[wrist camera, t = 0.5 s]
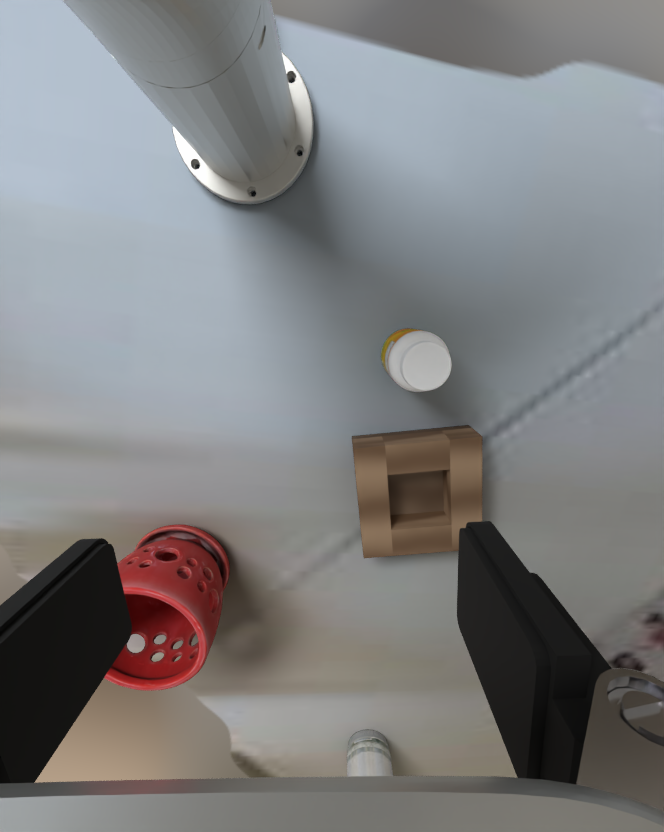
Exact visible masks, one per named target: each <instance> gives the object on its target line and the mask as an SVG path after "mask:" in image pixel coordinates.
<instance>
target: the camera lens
mask: <svg viewBox="0 0 664 832" xmlns="http://www.w3.org/2000/svg"><path fill="white" fill-rule="evenodd" d="M353 776H393V771H392V763H391V755H390V751H389V747H388V745H387V741H386V739H385V737H384V736H383V735H382V734H381V733H379V732H377V731H374V730H362V731H359V732H357V733H355V734H354V735H352V737H351V738H350V740H349V746H348V750H347V777H353Z"/></svg>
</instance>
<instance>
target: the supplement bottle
mask: <svg viewBox="0 0 664 832" xmlns="http://www.w3.org/2000/svg"><path fill="white" fill-rule="evenodd" d="M381 361H382V364H383V367H384V369H385V370H386V372H387V373H388V374H389V375H390V376H391V378H392V379H393V380H394V381H395V382H396V383H397V384H398V385H399V386H400V387H402V388H404V389H406V390H408V391H412V392H424V391H430V390H434V389H436V388H438V387H440V386H441V385H442V384H443V383H444V382H445V381H446V380H447V379H448V377H449V375H450V372H451V367H452V362H451V358H450V354H449V350H448V348H447V346H446V344H445V343H444V342H443V340H442V339H441V338H439V337H438V336H437V335H435V334H433V333H430V332H427V331H422V330H416V329H409V328H407V329H401V330H398V331H396V332H394V333H393V334H391V335H390V336H389V337H388V338H387V339H386V341H385V343H384V344H383V347H382V351H381Z"/></svg>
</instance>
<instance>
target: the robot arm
mask: <svg viewBox="0 0 664 832" xmlns="http://www.w3.org/2000/svg"><path fill="white" fill-rule="evenodd" d="M62 1H63V2H64V3H65V4H66V5H67V6H68V7H69V8H70V9H71V10H72V12H73V13H74V14H75V15H76V16H77V17H78V18H79V19H80V20H81V21H82V23H83V24H84V25H85V26H86V27H87V28H88V29H89V30H90V31H91V32H92V34H93V35H94V36H95V37H96V38H97V39H98V41H99V42H100V43H101V44H102V45H103V46H104V47H105V49H106V50H107V51H108V52H109V53H110V54H111V56H112V57H113V58H114V59H115V60H116V62H117V63H118V64H119V65H120V66H121V67H122V68H123V70H124V71H125V72H126V73H127V74H128V75H129V76H130V78H131V79H132V80H133V81H134V82H135V83H136V84H137V86H138V87H139V88H140V89H141V90H142V91H143V93H144V94H145V95H146V96H147V97H148V98H149V99H150V101H151V102H152V103H153V104H154V105H155V106H156V107H157V109H158V110H159V111H160V112H161V113H162V114H163V115H164V117H165V118H166V119H167V120H168V121H169V122H170V123H171V125H172V129H173V134H174V138H175V142H176V145H177V148H178V150H179V153H180V155H181V157H182V159H183V161H184V163H185V164H186V166H187V167H188V169H189V170H190V172H191V173H192V175H193V176H194V177H195V178H196V179H197V180H198V181H199V182H200V183H201V184H202V185H203V186H204V187H205V188H207V189H208V190H209V191H210V192H212V193H214V194H215V195H217V196H218V197H220V198H222V199H225V200H228V201H230V202H233V203H239V204H259V203H262V202H266V201H269V200H272V199H274V198H275V197H277V196H279V195H281V194H282V193H284V192H285V191H286V190H287V189H288V188H289V187H291V186H292V185H293V183H294V182H295V181H296V180H297V178H298V177H299V176H300V174H301V173H302V171H303V169H304V167H305V165H306V163H307V161H308V157H309V154H310V151H311V148H312V141H313V134H314V128H313V112H312V105H311V101H310V97H309V94H308V90H307V87H306V85H305V83H304V81H303V79H302V76H301V74H300V73H299V71H298V70H297V69H296V67H295V66H294V64H293V63H292V61H291V60H290V59H289V58H288V57H287V56H286V55H285V54H284V53H283V52H282V51H281V46H280V42H279V37H278V32H277V28H276V23H275V18H274V14H273V9H272V4H271V0H62ZM290 81H294V83H290ZM299 152H302V153H303V155H302V156H298V153H299ZM198 165H200V168H199V169H197V166H198ZM252 192H256V195H255V196H254V197H252ZM457 618H458V624H459V628H460V631H461V633H462V636H463V638H464V641H465V644H466V646H467V649H468V651H469V654H470V656H471V659H472V662H473V664H474V667H475V669H476V672H477V674H478V677H479V680H480V682H481V685H482V687H483V690H484V692H485V695H486V697H487V700H488V703H489V705H490V708H491V710H492V713H493V715H494V718H495V721H496V723H497V726H498V728H499V731H500V733H501V736H502V739H503V741H504V744H505V746H506V749H507V751H508V754H509V756H510V759H511V762H512V764H513V767H514V769H515V772H516V774H517V777H518V778H510V777H488V776H353V777H278V778H225V779H224V778H222V779H172V780H124V781H81V782H46V783H45V782H43V783H34V782H35V781H36V779H37V778H38V776H39V775H40V773H41V772H42V770H43V769H44V767H45V766H46V764H47V763H48V761H49V760H50V758H51V757H52V755H53V754H54V752H55V751H56V749H57V748H58V746H59V744H60V743H61V742H62V740H63V739H64V737H65V736H66V734H67V733H68V731H69V729H70V728H71V726H72V725H73V723H74V722H75V720H76V719H77V717H78V716H79V714H80V713H81V711H82V710H83V708H84V707H85V705H86V704H87V702H88V701H89V699H90V698H91V696H92V695H93V693H94V692H95V690H96V689H97V687H98V686H99V684H100V683H101V681H102V680H103V678H104V677H105V675H106V674H107V672H108V671H109V669H110V668H111V666H112V665H113V663H114V662H115V660H116V659H117V657H118V656H119V654H120V653H121V651H122V650H123V648H124V647H125V645H126V644H127V642H128V640H129V638H130V636H131V632H132V623H131V619H130V615H129V611H128V607H127V603H126V598H125V594H124V590H123V586H122V582H121V577H120V573H119V569H118V565H117V561H116V557H115V552H114V549H113V546H112V545H111V544H108V542H107V541H106V540H105V539H102V538H101V539H82V540H79V541H77V542H76V543H75V544H73V545H72V546H71V547H70V548H69V549H67V550H66V551H65V552H64V553H63V554H61V555H60V556H59V557H58V558H57V559H55V560H54V561H53V562H52V563H51V564H49V565H48V566H47V567H46V568H45V569H43V570H42V571H41V572H40V573H39V574H37V575H36V576H35V577H34V578H33V579H31V580H30V581H29V582H28V583H27V584H26V585H24V586H23V587H22V588H21V589H19V590H18V591H17V592H16V593H15V594H14V595H12V596H11V597H10V598H9V599H8V600H6V601H5V602H4V603H3V604H2V605H0V832H664V682H663V681H661V680H659V679H657V678H655V677H654V676H651V675H648V674H645V673H642V672H640V671H637V670H631V669H624V668H617V669H612V668H611V667H610V666H609V664H608V663H607V662H606V661H605V659H604V658H603V657H602V655H601V654H600V653H599V652H598V650H597V649H596V648H595V647H594V645H593V644H592V643H591V641H590V640H589V639H588V638H587V636H586V635H585V634H584V633H583V631H582V630H581V629H580V627H579V626H578V625H577V624H576V622H575V621H574V620H573V618H572V617H571V616H570V615H569V613H568V612H567V611H566V610H565V608H564V607H563V606H562V604H561V603H560V602H559V601H558V599H557V598H556V597H555V595H554V594H553V593H552V592H551V590H550V589H549V588H548V587H547V585H546V584H545V583H544V581H543V580H542V579H541V578H540V577H539V576H538V575H537V574H535V573H530V572H529V571H528V570H527V569H526V567H525V566H524V565H523V563H522V562H521V561H520V559H519V558H518V557H517V555H516V554H515V553H514V551H513V550H512V549H511V547H510V546H509V545H508V543H507V542H506V541H505V539H504V538H503V537H502V535H501V534H500V533H499V531H498V530H497V529H496V528H495V526H494V525H493V524H492V523H491V522H490V521H481V522H468V523H467V524H466V528H460V531H459V556H458V596H457Z"/></svg>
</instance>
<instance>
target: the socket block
mask: <svg viewBox="0 0 664 832" xmlns="http://www.w3.org/2000/svg"><path fill="white" fill-rule="evenodd" d="M352 443H353V453H354V464H355V474H356V485H357V495H358V505H359V516H360V526H361V536H362V546H363V555H364V558H372V557H384V556H397V555H409V554H422V553H434V552H446V551H459V531H460V528H466V524H467V523H468V522H481V521H482V436H481V435H480V434H479V433H477V432H476V431H475V430H474V429H473V428H471V427H470V426H469V425H465V426H454V427H444V428H433V429H423V430H412V431H402V432H391V433H381V434H370V435H360V436H352Z"/></svg>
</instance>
